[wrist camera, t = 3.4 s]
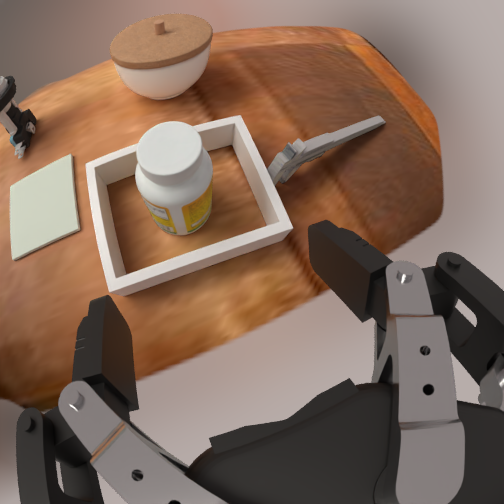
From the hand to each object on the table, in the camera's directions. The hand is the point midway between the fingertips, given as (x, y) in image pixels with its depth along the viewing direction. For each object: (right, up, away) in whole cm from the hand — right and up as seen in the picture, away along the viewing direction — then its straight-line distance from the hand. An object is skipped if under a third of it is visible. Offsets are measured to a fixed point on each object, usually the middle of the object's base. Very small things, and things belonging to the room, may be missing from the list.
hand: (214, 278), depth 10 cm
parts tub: (-5, +5, +14) cm, 15 cm away
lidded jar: (-9, +21, +17) cm, 29 cm away
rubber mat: (-20, +6, +12) cm, 24 cm away
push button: (-27, +15, +13) cm, 34 cm away
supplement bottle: (-5, +5, +14) cm, 16 cm away
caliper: (+10, +12, +18) cm, 24 cm away
